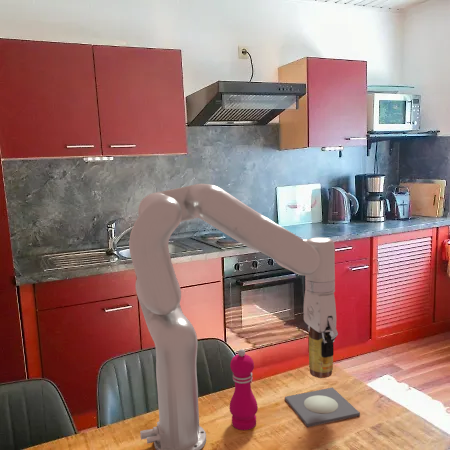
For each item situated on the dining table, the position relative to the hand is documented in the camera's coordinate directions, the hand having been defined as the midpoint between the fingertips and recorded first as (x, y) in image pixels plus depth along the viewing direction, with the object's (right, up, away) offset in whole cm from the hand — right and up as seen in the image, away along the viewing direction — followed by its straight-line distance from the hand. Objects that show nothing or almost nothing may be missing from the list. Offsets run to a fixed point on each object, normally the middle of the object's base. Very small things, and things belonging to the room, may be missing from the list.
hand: (320, 350), depth 119 cm
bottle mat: (0, -16, +2) cm, 16 cm away
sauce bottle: (0, -7, +1) cm, 7 cm away
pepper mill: (-21, -18, -4) cm, 28 cm away
